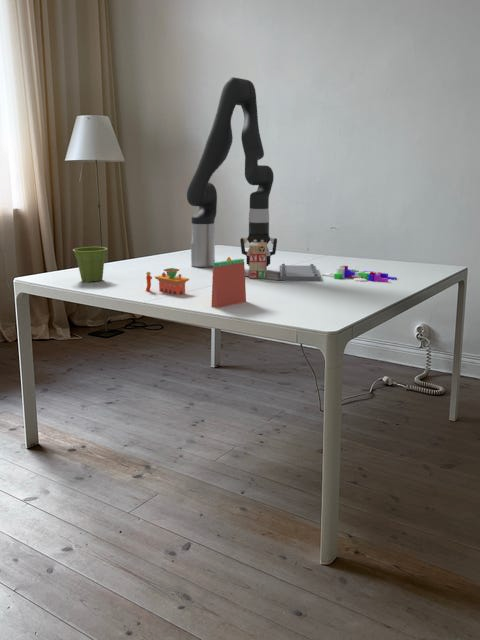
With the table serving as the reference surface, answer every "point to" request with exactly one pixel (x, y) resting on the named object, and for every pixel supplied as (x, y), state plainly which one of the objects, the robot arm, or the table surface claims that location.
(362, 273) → the building block set
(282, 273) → the baseplate
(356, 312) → the table surface
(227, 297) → the toy building block set
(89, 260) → the plant pot
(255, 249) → the stack of blocks
